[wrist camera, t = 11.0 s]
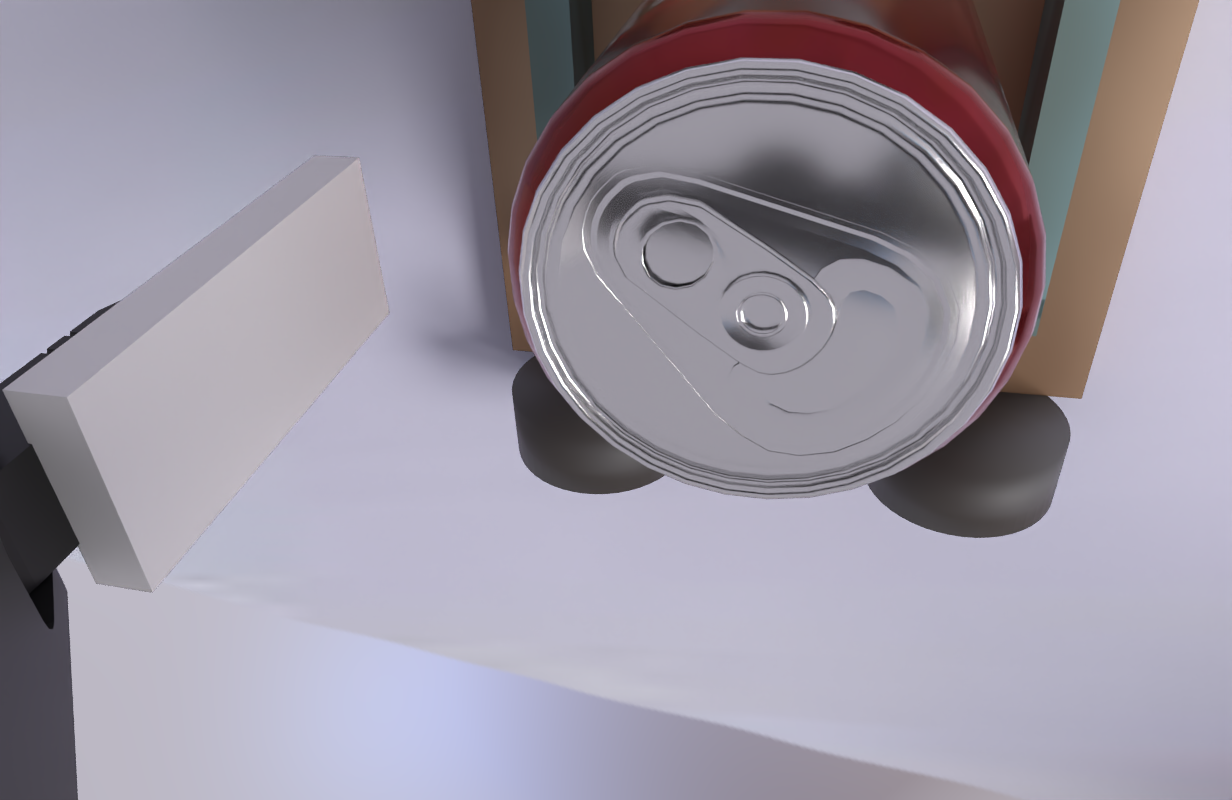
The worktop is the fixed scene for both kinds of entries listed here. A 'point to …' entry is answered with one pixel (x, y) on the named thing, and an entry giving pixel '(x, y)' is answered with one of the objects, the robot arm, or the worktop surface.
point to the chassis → (1066, 189)
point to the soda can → (781, 240)
